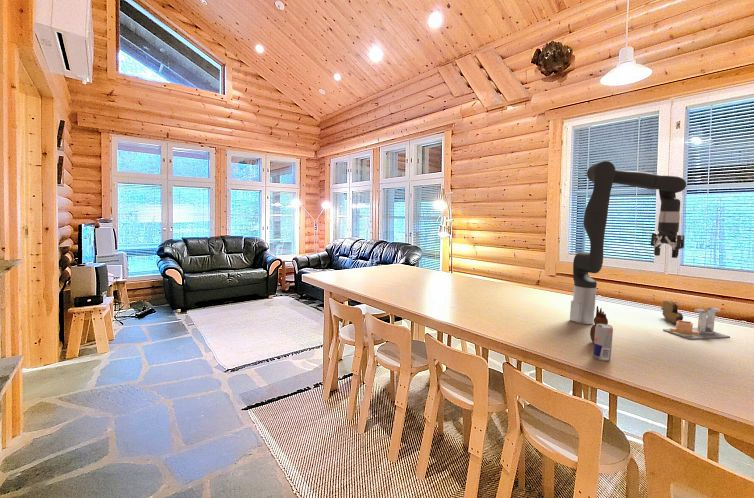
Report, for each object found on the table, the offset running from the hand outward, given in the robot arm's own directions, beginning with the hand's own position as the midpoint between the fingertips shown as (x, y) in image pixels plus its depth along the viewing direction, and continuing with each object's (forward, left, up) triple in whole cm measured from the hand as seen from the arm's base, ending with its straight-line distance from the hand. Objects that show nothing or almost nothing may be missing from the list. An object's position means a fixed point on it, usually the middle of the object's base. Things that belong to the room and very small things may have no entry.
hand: (665, 256), depth 170 cm
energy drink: (-59, -33, -32) cm, 75 cm away
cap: (-3, -14, -31) cm, 35 cm away
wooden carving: (+10, +3, -32) cm, 34 cm away
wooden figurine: (-49, -20, -32) cm, 62 cm away
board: (+3, -15, -32) cm, 35 cm away
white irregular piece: (+8, -15, -32) cm, 36 cm away
